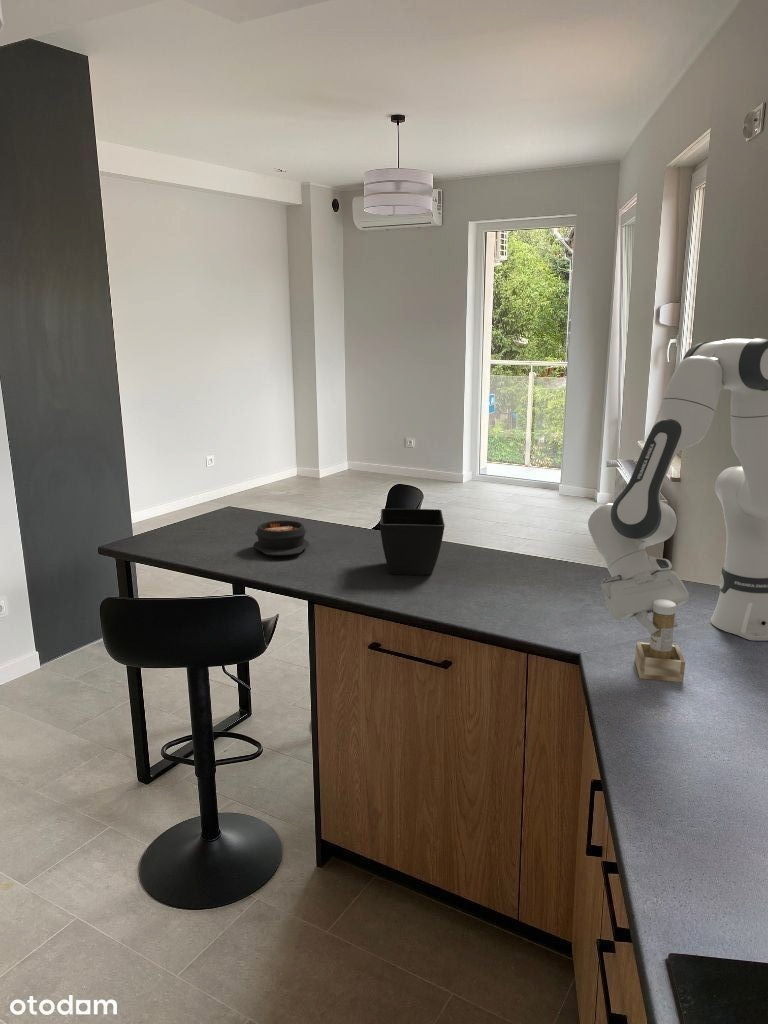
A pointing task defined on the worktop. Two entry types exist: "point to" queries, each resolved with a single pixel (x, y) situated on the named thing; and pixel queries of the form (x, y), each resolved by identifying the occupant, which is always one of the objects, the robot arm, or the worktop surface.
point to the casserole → (281, 538)
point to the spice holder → (659, 664)
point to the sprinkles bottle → (662, 629)
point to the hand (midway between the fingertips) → (664, 630)
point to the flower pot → (411, 539)
